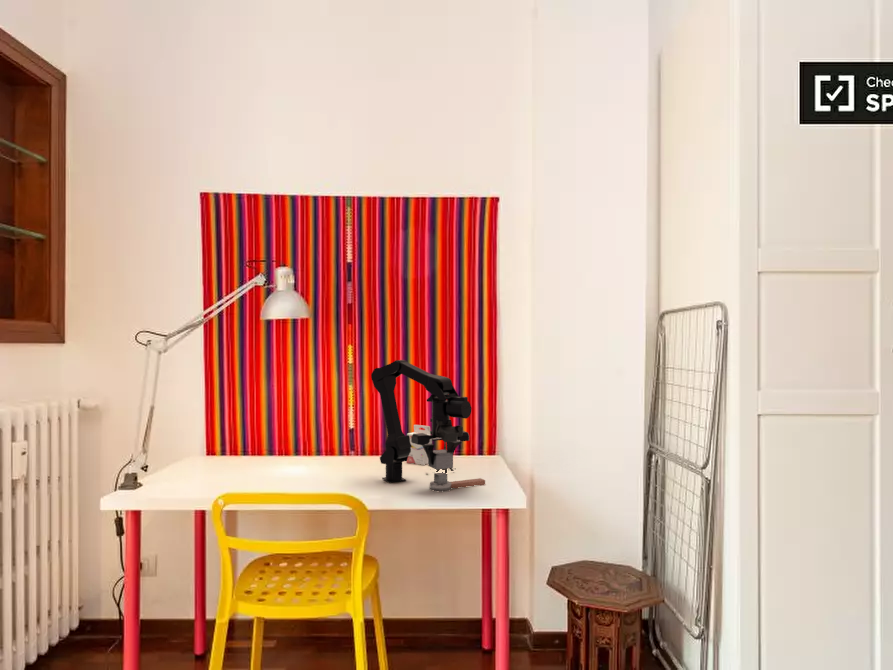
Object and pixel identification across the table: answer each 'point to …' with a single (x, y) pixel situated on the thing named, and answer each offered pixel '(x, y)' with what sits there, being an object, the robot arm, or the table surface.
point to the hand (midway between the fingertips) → (440, 463)
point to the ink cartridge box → (418, 447)
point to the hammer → (451, 483)
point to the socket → (442, 459)
